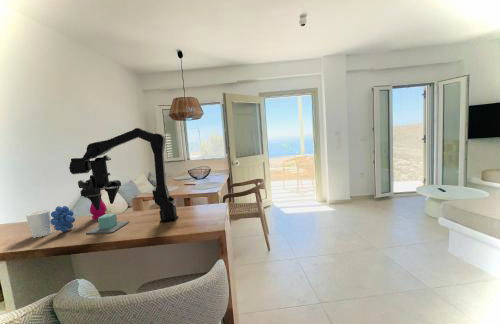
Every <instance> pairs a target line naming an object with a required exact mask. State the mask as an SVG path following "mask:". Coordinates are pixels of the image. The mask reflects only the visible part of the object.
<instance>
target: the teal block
mask: <svg viewBox="0 0 500 324" xmlns="http://www.w3.org/2000/svg"><path fill="white" fill-rule="evenodd" d="M97 222H98V226H99V229H111V228H112V227H114V226H116V225H117V222H118V219H117V213H106V214H105V215H103V216H101V217H99V218H98V220H97Z"/></svg>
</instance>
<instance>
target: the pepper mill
mask: <svg viewBox="0 0 500 324" xmlns="http://www.w3.org/2000/svg"><path fill="white" fill-rule="evenodd" d="M100 194H101V195H102V194H103V193H102V191H101V192H100ZM106 212H107V205H106V203H105V202H104V201H103V198H102V197H101V203H100V210H96V209H95V207H94V205H93V204H92V202H91V204H90V207H89V213H90V214H91V215H92V216H91V218H92V220H93V221H98V218H99V217H101V216H103V215H105V214H107V213H106Z"/></svg>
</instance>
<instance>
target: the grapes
mask: <svg viewBox="0 0 500 324" xmlns="http://www.w3.org/2000/svg"><path fill="white" fill-rule="evenodd" d="M50 216H51V221H50V223H51V225H53V228H54V231H58V232H59V231H60V232H61V233H66V232H68V230H71V229H73V227H74V224H73V223H74V222H76V217H74V210H71V209H70V208H69V207H68V206H66V205H63V206H60V205H59V206H56V207H55V210H53V211H52V212H50Z"/></svg>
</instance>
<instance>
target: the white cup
mask: <svg viewBox="0 0 500 324" xmlns="http://www.w3.org/2000/svg"><path fill="white" fill-rule="evenodd" d="M51 219H52V217H51V210H50V209H41V210H36V211H33V212H30V213H27V214H26V221H27V225H28V228H29V230H30V233H31V237H32V238H34V239H37V238H36V237H38V238H41V237H42V236H43V237H45V236H48V235H51V234H52V233H53V229H52V224H51V223H50V221H51ZM43 237H42V238H43Z"/></svg>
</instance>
